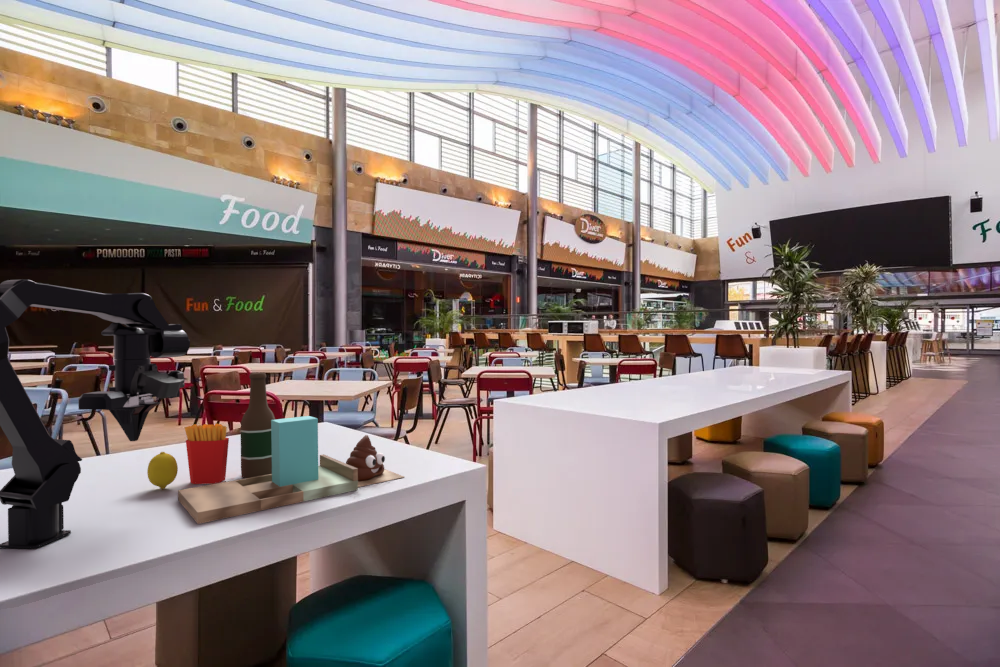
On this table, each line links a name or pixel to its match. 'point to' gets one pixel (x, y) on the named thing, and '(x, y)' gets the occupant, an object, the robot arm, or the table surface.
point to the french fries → (207, 453)
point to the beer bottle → (256, 431)
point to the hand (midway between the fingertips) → (133, 440)
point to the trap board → (265, 492)
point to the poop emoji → (366, 460)
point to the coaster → (380, 478)
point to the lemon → (162, 470)
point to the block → (294, 450)
